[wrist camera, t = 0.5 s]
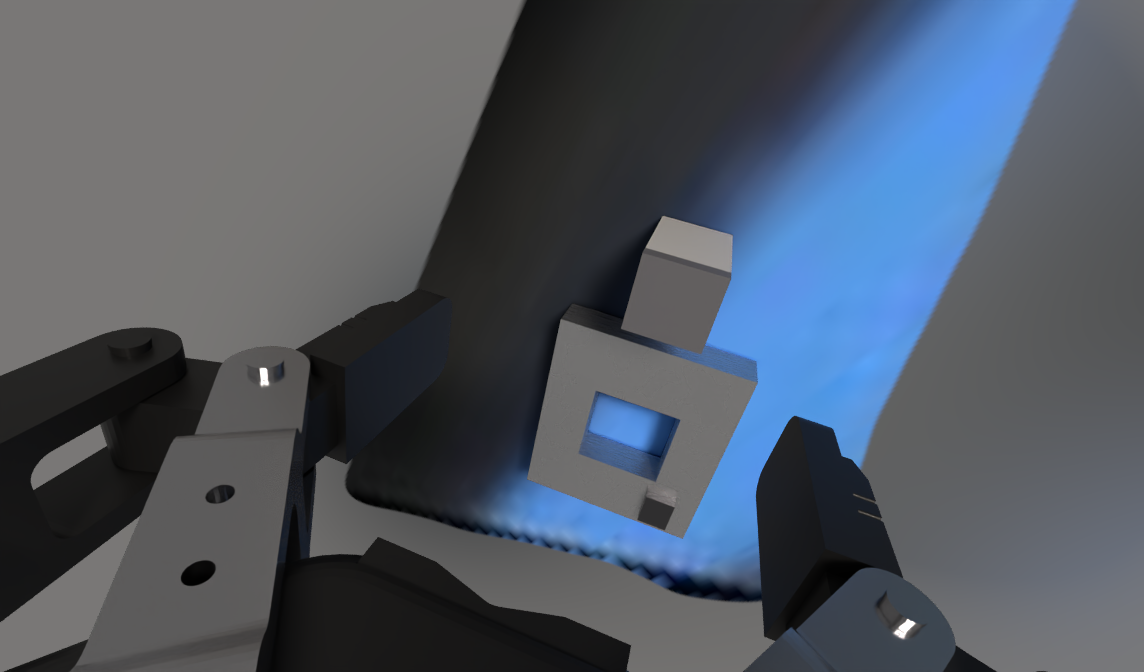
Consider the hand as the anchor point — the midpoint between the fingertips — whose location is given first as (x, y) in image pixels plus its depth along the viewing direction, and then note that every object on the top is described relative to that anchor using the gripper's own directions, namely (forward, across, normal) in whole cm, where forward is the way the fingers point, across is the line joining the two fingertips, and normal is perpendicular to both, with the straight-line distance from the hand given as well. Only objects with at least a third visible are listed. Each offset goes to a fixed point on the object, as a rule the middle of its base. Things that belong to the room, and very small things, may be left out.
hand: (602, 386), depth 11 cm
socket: (+19, -1, +14) cm, 24 cm away
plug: (+19, -1, +2) cm, 19 cm away
